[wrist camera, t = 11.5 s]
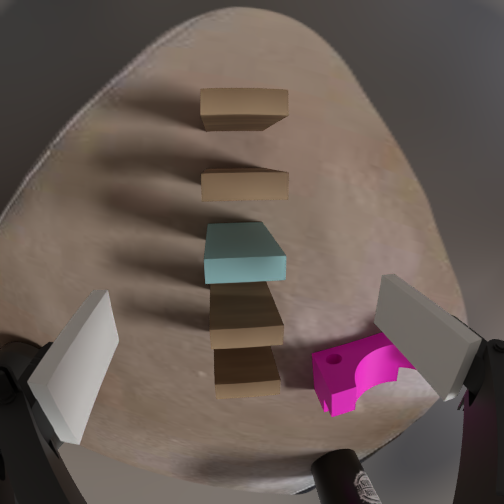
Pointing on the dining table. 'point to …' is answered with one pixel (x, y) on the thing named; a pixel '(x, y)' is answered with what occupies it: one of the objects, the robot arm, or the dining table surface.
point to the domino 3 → (242, 254)
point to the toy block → (354, 371)
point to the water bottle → (342, 479)
